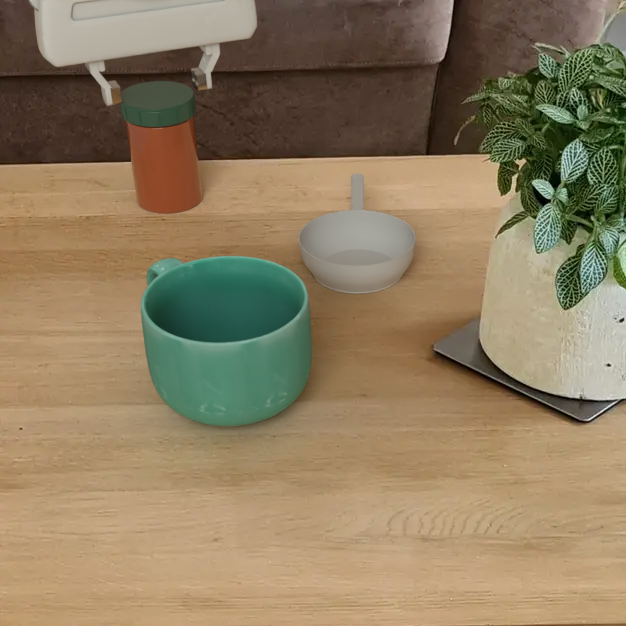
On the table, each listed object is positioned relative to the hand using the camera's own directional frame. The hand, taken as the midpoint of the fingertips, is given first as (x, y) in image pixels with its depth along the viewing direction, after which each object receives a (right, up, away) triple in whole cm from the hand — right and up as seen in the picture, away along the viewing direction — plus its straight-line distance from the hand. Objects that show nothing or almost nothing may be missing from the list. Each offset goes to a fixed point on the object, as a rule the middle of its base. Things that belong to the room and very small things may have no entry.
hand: (158, 95), depth 113 cm
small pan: (+19, -15, -1) cm, 25 cm away
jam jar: (0, -9, +7) cm, 11 cm away
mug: (+10, -29, -19) cm, 36 cm away
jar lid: (0, 0, 0) cm, 0 cm away
